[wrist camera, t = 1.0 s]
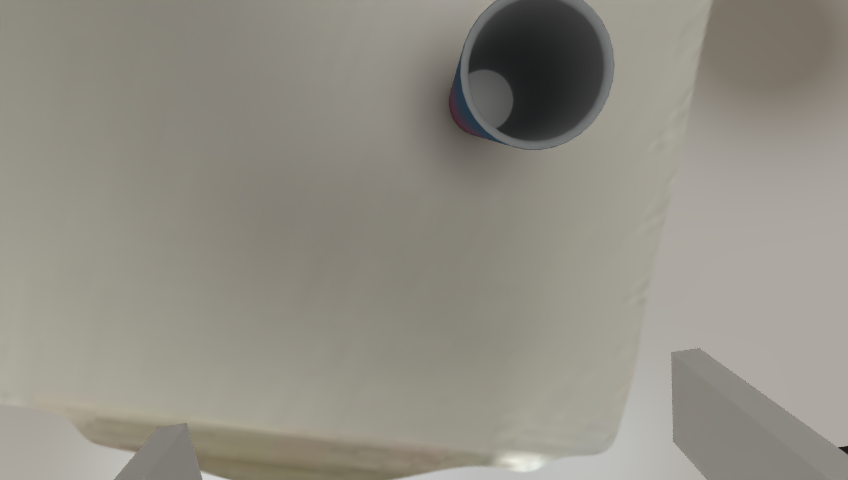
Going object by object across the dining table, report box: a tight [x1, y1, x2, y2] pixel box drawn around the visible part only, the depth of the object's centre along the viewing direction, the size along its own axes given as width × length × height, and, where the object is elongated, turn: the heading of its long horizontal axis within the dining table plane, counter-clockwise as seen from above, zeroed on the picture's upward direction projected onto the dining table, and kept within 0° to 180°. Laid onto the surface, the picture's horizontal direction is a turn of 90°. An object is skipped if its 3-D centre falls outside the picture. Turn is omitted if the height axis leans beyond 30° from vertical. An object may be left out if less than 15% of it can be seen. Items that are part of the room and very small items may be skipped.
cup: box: [449, 0, 614, 150], centre depth 28 cm, size 7×7×15 cm
